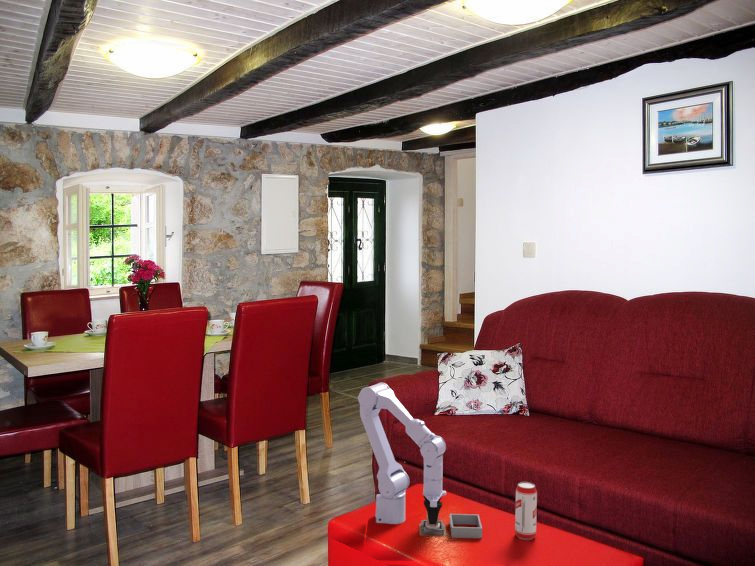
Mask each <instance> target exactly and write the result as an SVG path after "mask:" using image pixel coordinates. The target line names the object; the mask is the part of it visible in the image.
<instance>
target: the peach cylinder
mask: <svg viewBox="0 0 755 566" xmlns="http://www.w3.org/2000/svg"><path fill="white" fill-rule="evenodd" d="M439 516H440V513H439V514H438V519H437V523H436V524H429V520H428V514H427V513H426V520H427V522H426V523H425V528H426V529H440V523H439V521H440V520H439V519H440V518H439Z"/></svg>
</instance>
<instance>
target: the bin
mask: <svg viewBox="0 0 755 566" xmlns="http://www.w3.org/2000/svg"><path fill="white" fill-rule="evenodd" d="M454 525H468V526H469V525H472V527H471V526H470V527H468V526H454ZM474 525H475V526H477V527H475V526H474ZM473 526H474V527H473ZM449 528H450V536H451V538H456V539H457V538H459V539H460V538H461V539H462V538H463V539H483V526H482V521H481V519H480V514H476V513H475V514H473V513H471V514H467V513H449Z"/></svg>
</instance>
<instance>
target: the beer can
mask: <svg viewBox="0 0 755 566" xmlns="http://www.w3.org/2000/svg"><path fill="white" fill-rule="evenodd" d="M537 503H538V491H537V489H536V485H535V484H534V483H533V482H529V481H521V482H518V483H517V487H516V489H515V508H514V509H515V515H514V517H515V518H514V521H515V522H514V534H515V536H516V537H517V538H518V539H520V540H522V541H532V540H534V538H535V537H537V512H538V511H537V509H538V508H537V505H538V504H537Z"/></svg>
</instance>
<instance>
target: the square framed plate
mask: <svg viewBox="0 0 755 566" xmlns="http://www.w3.org/2000/svg"><path fill="white" fill-rule="evenodd" d="M426 522H427V519H421V523H419V524H418V525H419V528H418V529H419V531H418V532H419V536H429V537H430V536H433V537H434V536H437V537H446V536H447V530H446V524H444V520H439V523H440V529H426V528H425V523H426Z"/></svg>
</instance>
